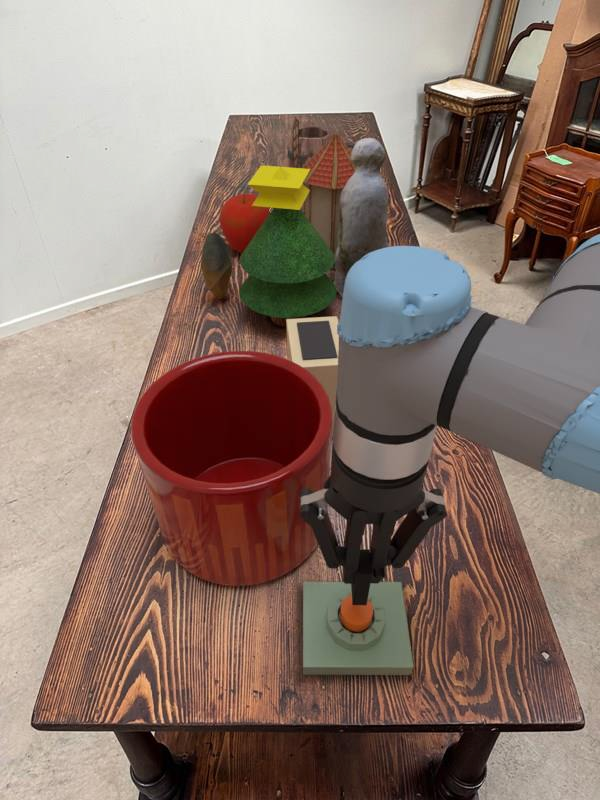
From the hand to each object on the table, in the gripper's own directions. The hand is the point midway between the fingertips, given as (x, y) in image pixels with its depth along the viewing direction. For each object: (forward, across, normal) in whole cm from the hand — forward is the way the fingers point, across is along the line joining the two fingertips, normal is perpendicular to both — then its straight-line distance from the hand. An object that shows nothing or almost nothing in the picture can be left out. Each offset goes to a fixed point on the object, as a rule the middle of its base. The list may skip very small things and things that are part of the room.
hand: (358, 592), depth 58 cm
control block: (+9, 0, 0) cm, 9 cm away
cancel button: (+5, 0, 0) cm, 5 cm away
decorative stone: (+9, +24, -72) cm, 76 cm away
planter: (+9, +14, -16) cm, 23 cm away
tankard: (+9, +1, -117) cm, 117 cm away
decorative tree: (+9, +9, -65) cm, 66 cm away
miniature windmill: (+9, +1, -93) cm, 93 cm away
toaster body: (+9, +4, -36) cm, 38 cm away
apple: (+9, +20, -93) cm, 95 cm away
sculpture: (+9, -6, -76) cm, 77 cm away
